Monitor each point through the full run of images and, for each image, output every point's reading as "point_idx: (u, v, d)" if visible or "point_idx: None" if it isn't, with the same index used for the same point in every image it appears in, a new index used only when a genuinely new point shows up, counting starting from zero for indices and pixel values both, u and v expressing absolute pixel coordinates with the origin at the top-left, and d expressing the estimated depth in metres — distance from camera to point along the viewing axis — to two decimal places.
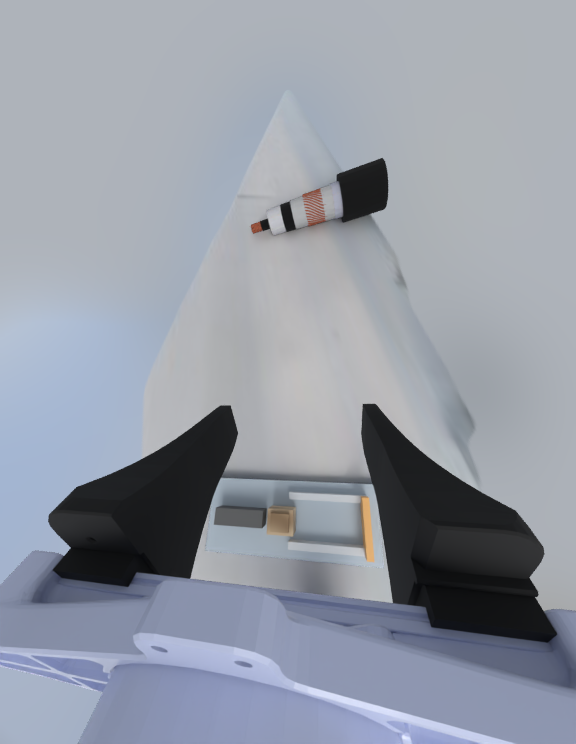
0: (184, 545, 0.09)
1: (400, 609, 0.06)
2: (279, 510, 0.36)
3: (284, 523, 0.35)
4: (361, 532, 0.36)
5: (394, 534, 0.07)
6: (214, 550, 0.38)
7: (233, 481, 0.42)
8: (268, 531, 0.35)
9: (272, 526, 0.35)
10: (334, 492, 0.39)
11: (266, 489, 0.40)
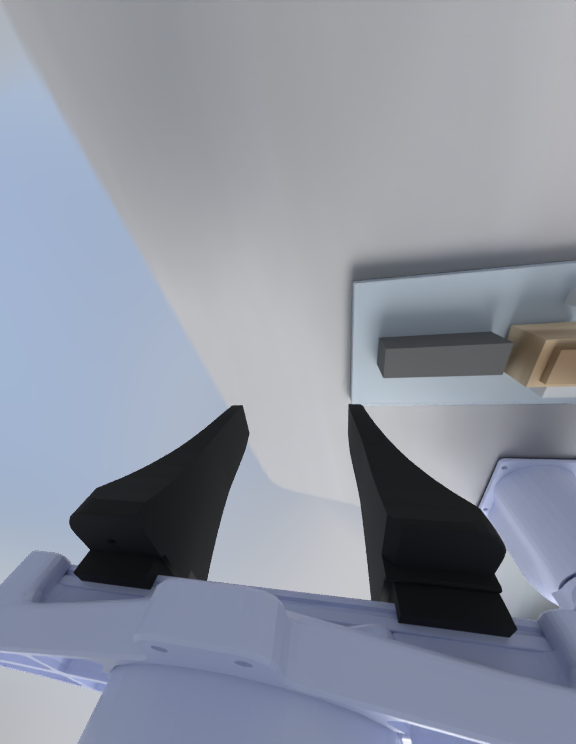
0: (201, 547, 0.09)
1: (370, 605, 0.06)
2: None
3: None
4: None
5: (371, 532, 0.08)
6: (369, 404, 0.22)
7: (408, 285, 0.17)
8: (533, 382, 0.16)
9: (555, 375, 0.15)
10: None
11: (499, 292, 0.16)
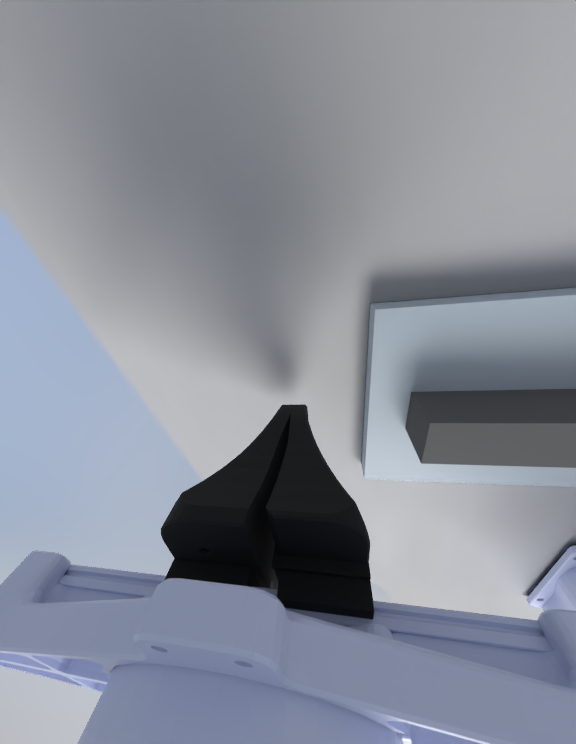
0: None
1: None
2: None
3: None
4: None
5: None
6: (390, 478, 0.15)
7: (468, 313, 0.10)
8: None
9: None
10: None
11: None
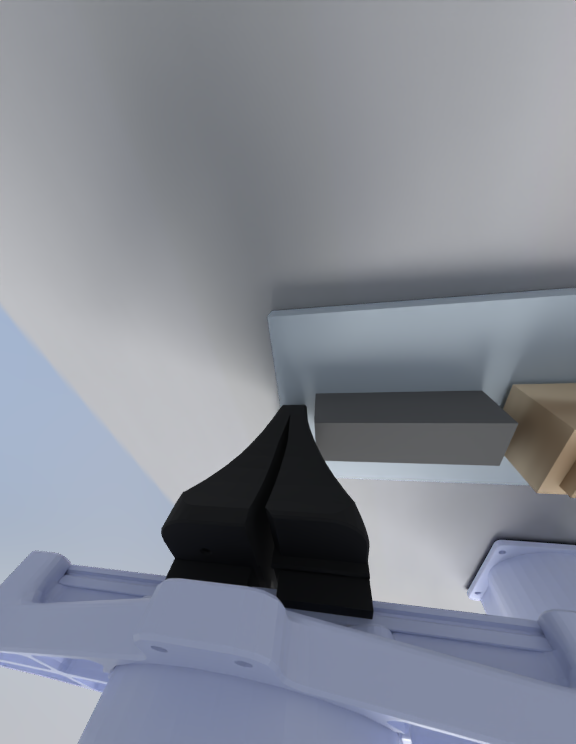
0: None
1: None
2: None
3: None
4: None
5: None
6: None
7: (349, 321, 0.11)
8: (548, 487, 0.09)
9: None
10: None
11: (493, 335, 0.10)
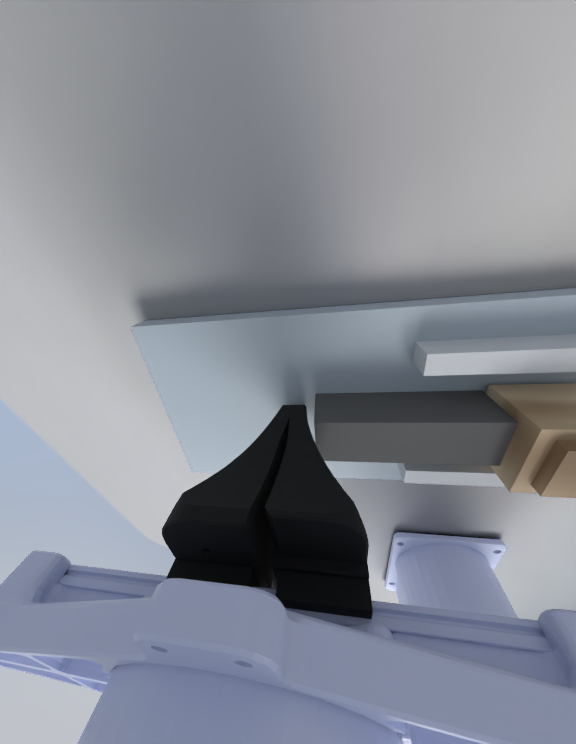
0: None
1: None
2: None
3: None
4: None
5: None
6: (211, 471, 0.17)
7: (199, 331, 0.12)
8: (520, 486, 0.10)
9: (557, 485, 0.09)
10: None
11: (321, 344, 0.11)
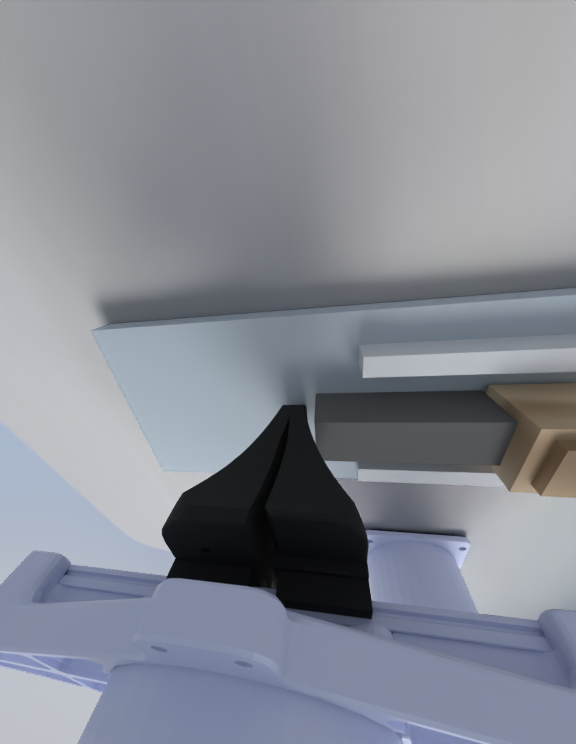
0: None
1: None
2: None
3: None
4: None
5: None
6: (181, 470, 0.17)
7: (156, 334, 0.12)
8: (521, 486, 0.10)
9: (557, 485, 0.09)
10: (541, 330, 0.10)
11: (271, 347, 0.12)
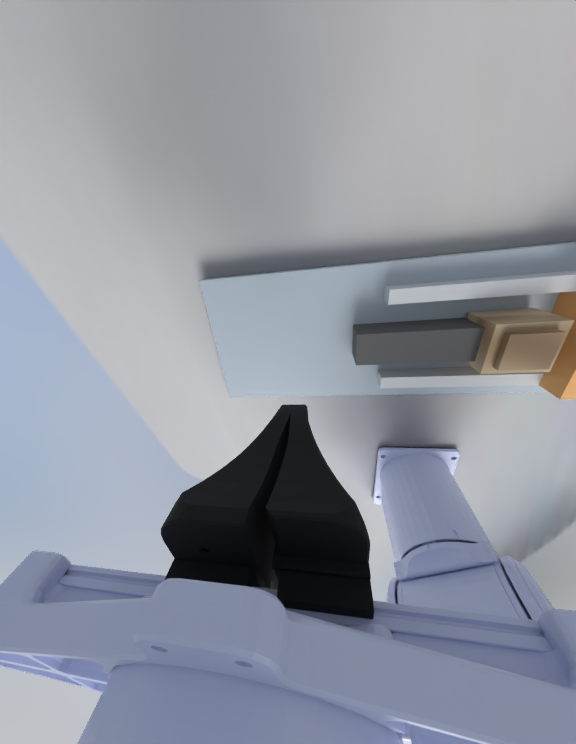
0: None
1: None
2: (530, 325, 0.14)
3: (545, 351, 0.14)
4: None
5: None
6: (244, 395, 0.23)
7: (245, 282, 0.18)
8: (486, 368, 0.15)
9: (506, 361, 0.15)
10: (500, 272, 0.16)
11: (325, 289, 0.18)
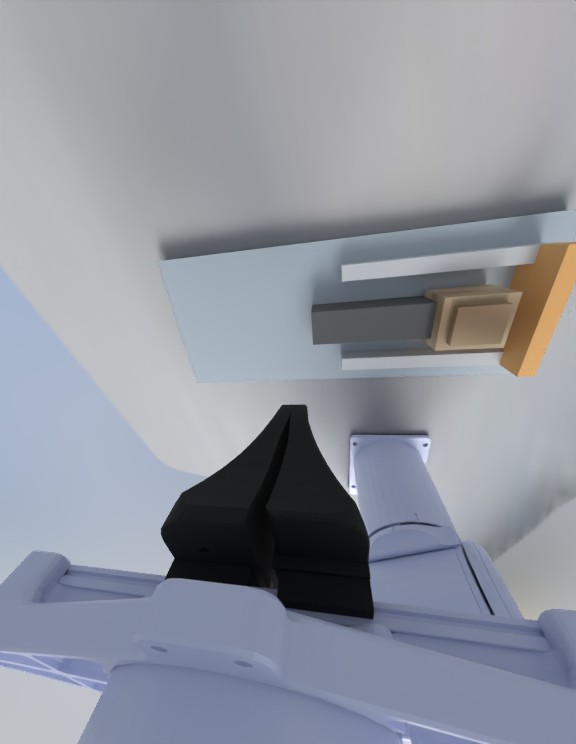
0: None
1: None
2: (479, 297, 0.14)
3: (495, 325, 0.14)
4: None
5: None
6: (211, 380, 0.23)
7: (203, 262, 0.18)
8: (440, 344, 0.15)
9: (458, 336, 0.14)
10: (454, 248, 0.15)
11: (282, 268, 0.17)
